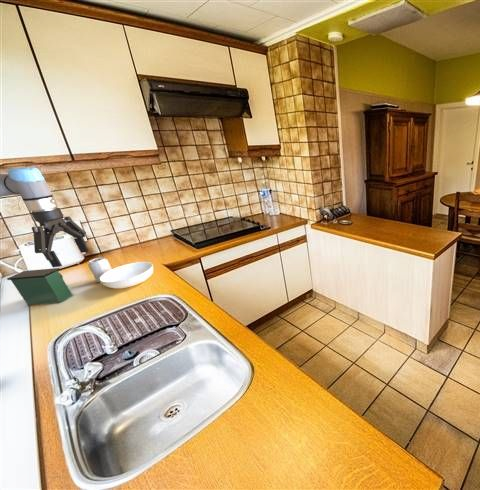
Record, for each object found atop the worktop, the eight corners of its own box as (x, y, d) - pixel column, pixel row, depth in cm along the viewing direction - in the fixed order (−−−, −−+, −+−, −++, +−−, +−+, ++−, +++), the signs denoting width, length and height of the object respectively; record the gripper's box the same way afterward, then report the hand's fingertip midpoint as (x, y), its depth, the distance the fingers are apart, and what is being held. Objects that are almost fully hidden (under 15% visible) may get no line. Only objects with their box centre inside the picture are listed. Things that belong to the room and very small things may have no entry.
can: (114, 274, 146) (104, 255, 141) (117, 278, 142) (107, 258, 137) (96, 280, 141) (85, 260, 136) (98, 284, 136) (87, 264, 132)
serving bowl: (104, 299, 123) (97, 286, 121) (107, 282, 138) (101, 270, 136) (158, 282, 135) (153, 271, 132) (155, 268, 150) (151, 257, 147)
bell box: (25, 306, 121) (6, 278, 115) (41, 297, 128) (24, 270, 122) (60, 303, 122) (43, 275, 116) (74, 294, 129) (59, 267, 123)
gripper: (23, 218, 90) (55, 272, 99) (82, 200, 113) (104, 246, 121) (-3, 220, 89) (32, 274, 98) (62, 202, 112) (85, 247, 120)
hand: (72, 259), depth 110 cm, fingers open, 13 cm apart
